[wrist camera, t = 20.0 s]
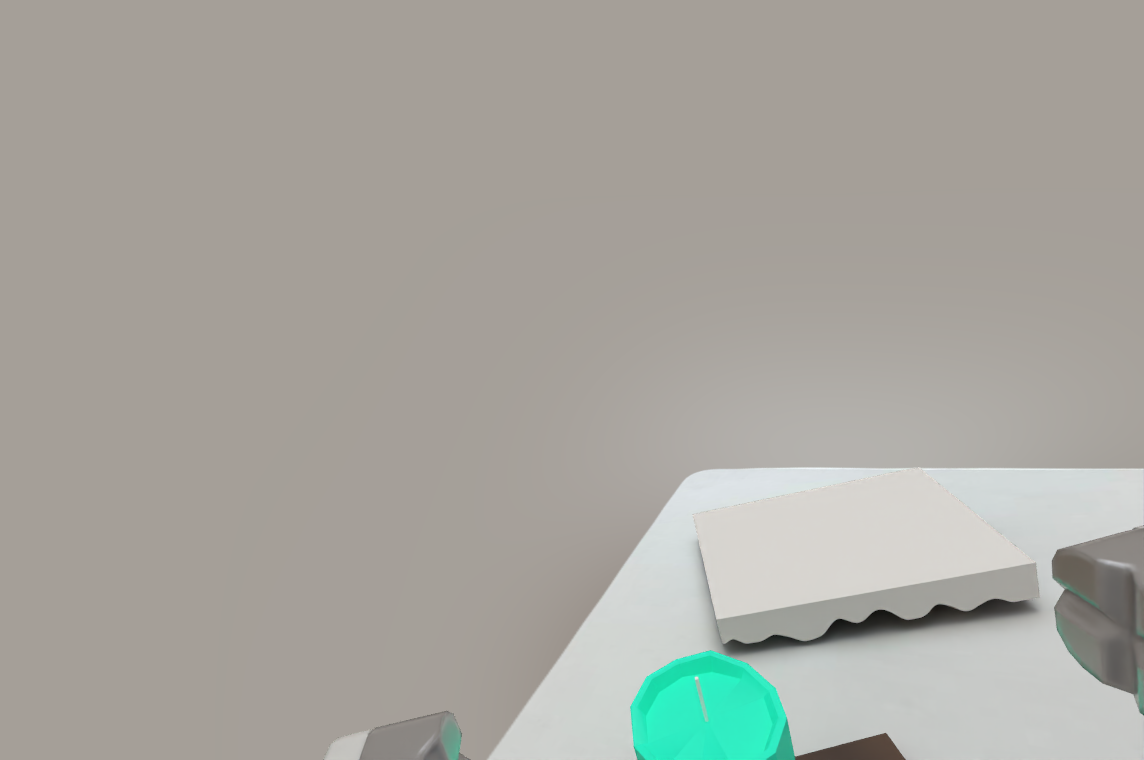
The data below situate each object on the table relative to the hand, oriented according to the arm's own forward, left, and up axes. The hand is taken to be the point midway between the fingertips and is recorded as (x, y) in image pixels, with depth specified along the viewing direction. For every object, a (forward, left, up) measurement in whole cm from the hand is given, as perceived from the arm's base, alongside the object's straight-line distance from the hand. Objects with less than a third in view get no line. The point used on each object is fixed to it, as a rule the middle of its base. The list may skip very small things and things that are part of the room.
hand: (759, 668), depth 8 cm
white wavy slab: (+15, +33, -24) cm, 44 cm away
